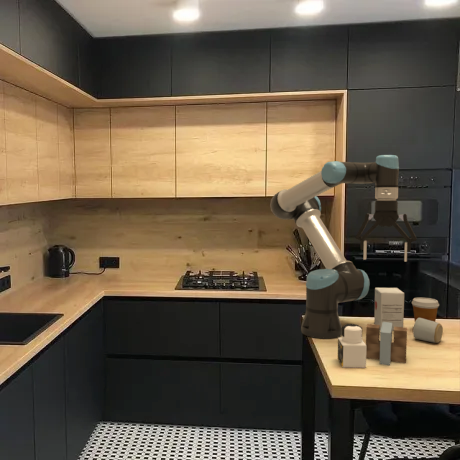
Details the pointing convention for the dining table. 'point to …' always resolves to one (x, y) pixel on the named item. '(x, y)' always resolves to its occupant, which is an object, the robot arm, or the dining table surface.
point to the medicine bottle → (352, 347)
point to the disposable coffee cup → (425, 308)
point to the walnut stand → (396, 346)
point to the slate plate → (385, 343)
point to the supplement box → (389, 307)
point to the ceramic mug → (427, 330)
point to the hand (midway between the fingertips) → (384, 260)
